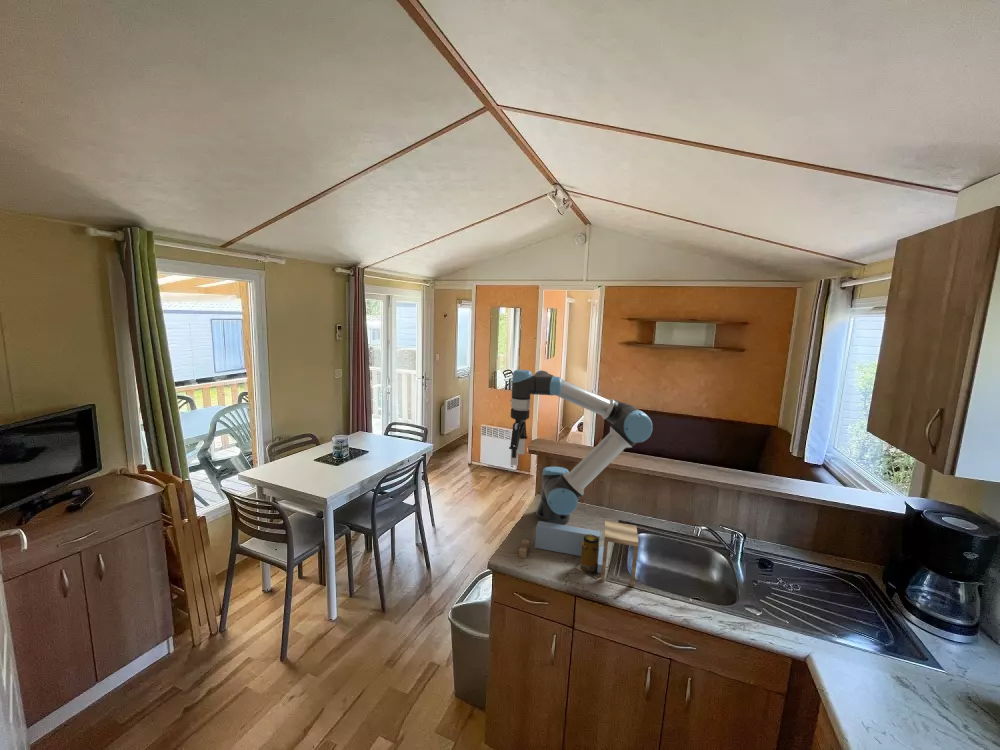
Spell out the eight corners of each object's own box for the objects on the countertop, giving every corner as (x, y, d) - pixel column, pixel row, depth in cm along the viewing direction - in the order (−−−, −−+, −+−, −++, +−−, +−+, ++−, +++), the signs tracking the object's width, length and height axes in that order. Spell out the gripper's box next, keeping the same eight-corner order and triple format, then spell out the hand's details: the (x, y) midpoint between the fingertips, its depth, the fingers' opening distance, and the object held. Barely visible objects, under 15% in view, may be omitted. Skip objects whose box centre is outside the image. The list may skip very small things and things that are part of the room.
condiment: (585, 560, 155) (588, 530, 154) (606, 570, 150) (608, 539, 148) (575, 568, 150) (577, 537, 148) (595, 579, 144) (598, 547, 143)
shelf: (601, 562, 154) (605, 520, 152) (632, 567, 152) (636, 525, 149) (600, 580, 143) (604, 536, 141) (633, 587, 141) (638, 542, 138)
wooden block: (522, 546, 163) (523, 539, 163) (529, 547, 162) (529, 540, 162) (518, 557, 155) (519, 550, 155) (525, 559, 155) (525, 551, 154)
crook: (536, 542, 166) (538, 520, 165) (604, 554, 159) (606, 532, 159) (530, 559, 153) (532, 536, 152) (604, 573, 146) (606, 549, 146)
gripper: (517, 401, 178) (515, 448, 181) (503, 414, 154) (501, 468, 158) (534, 403, 176) (532, 450, 180) (523, 416, 152) (520, 471, 156)
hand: (517, 459), depth 169 cm, fingers open, 13 cm apart
